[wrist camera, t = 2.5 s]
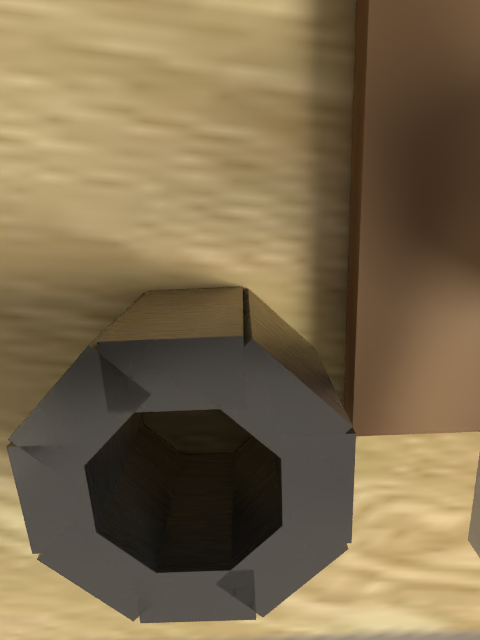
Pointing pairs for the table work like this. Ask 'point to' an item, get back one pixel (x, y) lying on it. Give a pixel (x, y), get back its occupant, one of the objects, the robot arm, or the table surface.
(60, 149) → the table surface
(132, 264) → the table surface
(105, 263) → the table surface
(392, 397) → the base board
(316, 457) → the ring
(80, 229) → the table surface
